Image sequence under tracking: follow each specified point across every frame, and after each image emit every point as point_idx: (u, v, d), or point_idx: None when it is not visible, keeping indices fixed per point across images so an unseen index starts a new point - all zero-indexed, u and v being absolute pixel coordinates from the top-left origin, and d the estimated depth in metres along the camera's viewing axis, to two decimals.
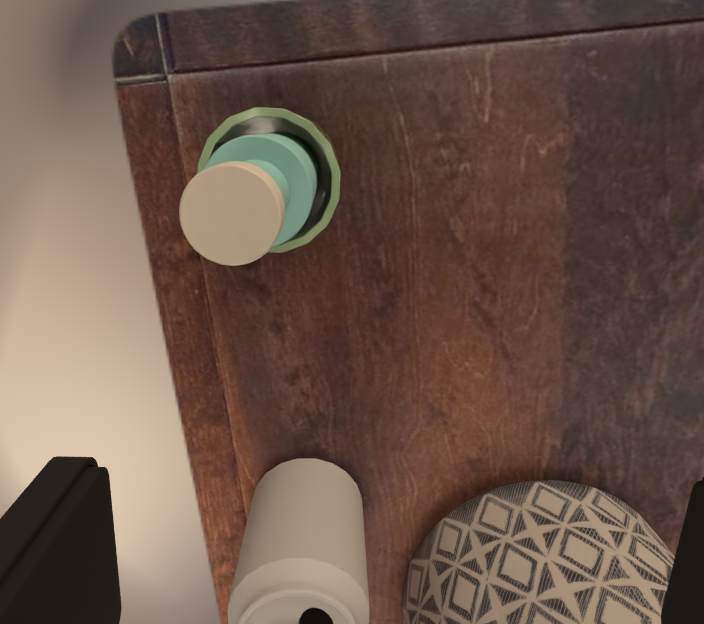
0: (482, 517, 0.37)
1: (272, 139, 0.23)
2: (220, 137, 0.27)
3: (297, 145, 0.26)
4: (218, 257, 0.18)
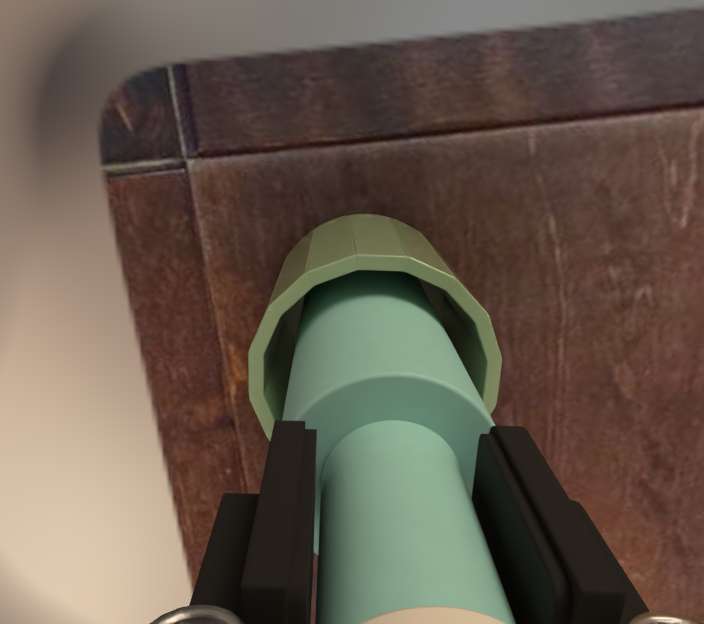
0: None
1: (431, 379, 0.11)
2: (290, 305, 0.15)
3: (435, 326, 0.14)
4: None
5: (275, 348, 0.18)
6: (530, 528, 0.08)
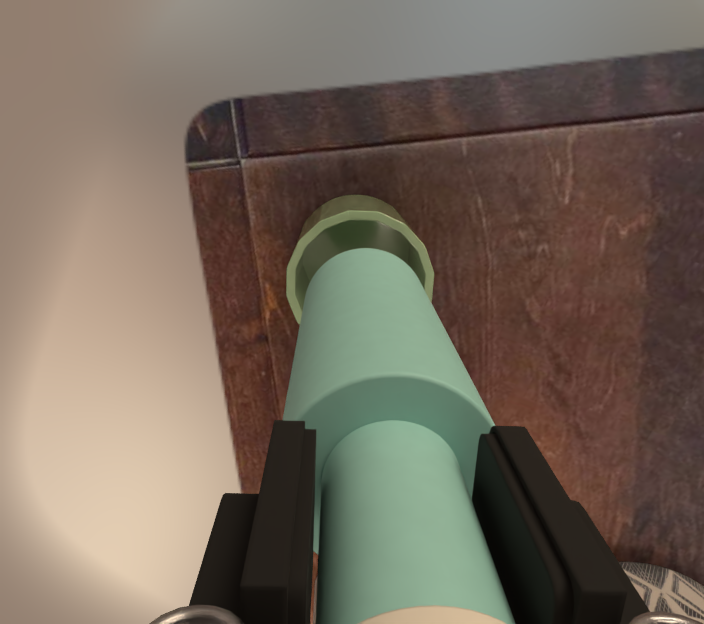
0: None
1: (431, 379, 0.11)
2: (311, 240, 0.26)
3: (435, 326, 0.14)
4: None
5: (299, 276, 0.30)
6: (531, 528, 0.08)
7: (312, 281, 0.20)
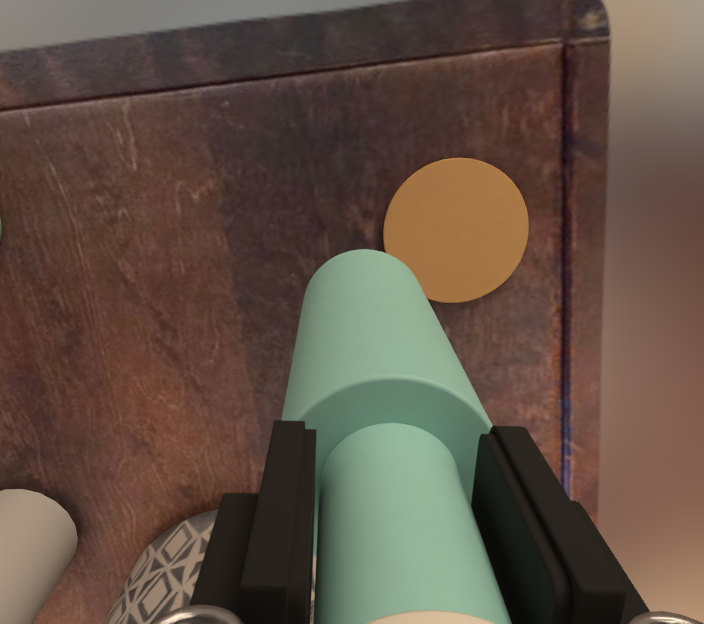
0: (167, 545, 0.38)
1: (429, 381, 0.11)
2: None
3: (434, 328, 0.14)
4: None
5: None
6: (530, 528, 0.08)
7: (311, 282, 0.20)
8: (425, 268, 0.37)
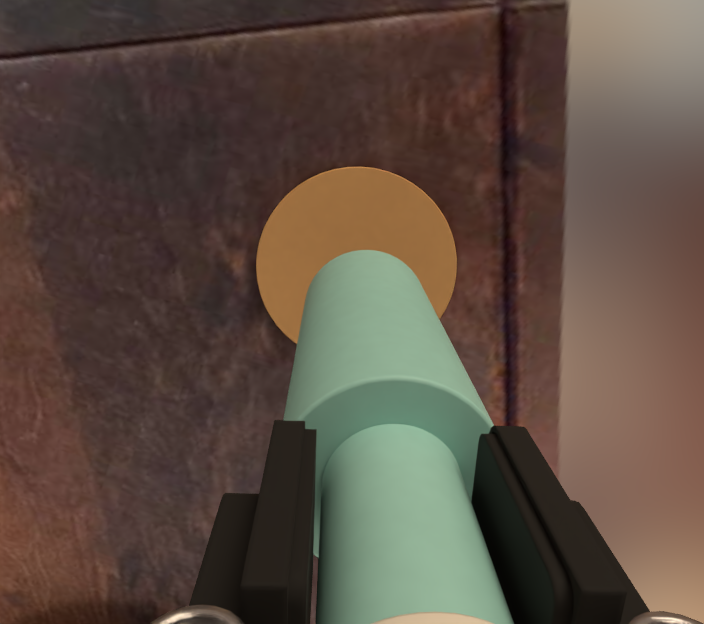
0: None
1: (432, 382, 0.11)
2: None
3: (436, 329, 0.14)
4: None
5: None
6: (530, 528, 0.08)
7: (312, 283, 0.20)
8: None
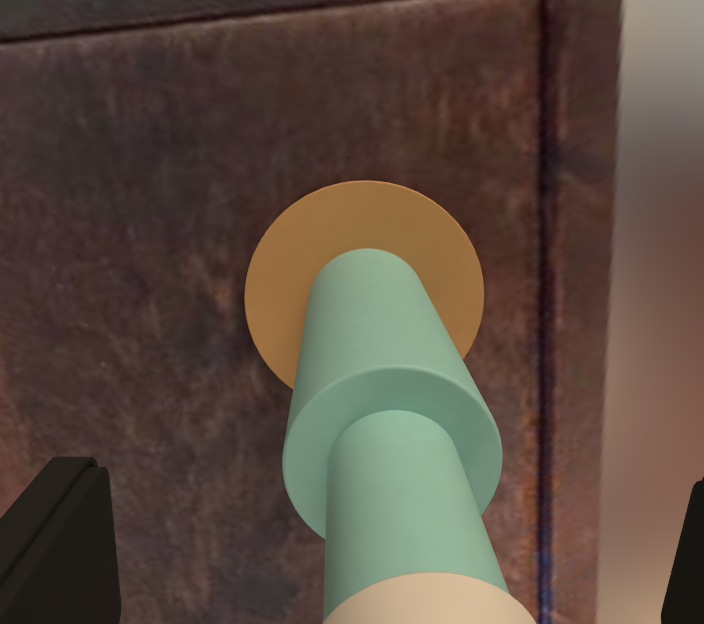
0: None
1: (431, 371, 0.11)
2: None
3: (435, 322, 0.15)
4: None
5: None
6: None
7: (316, 280, 0.21)
8: None
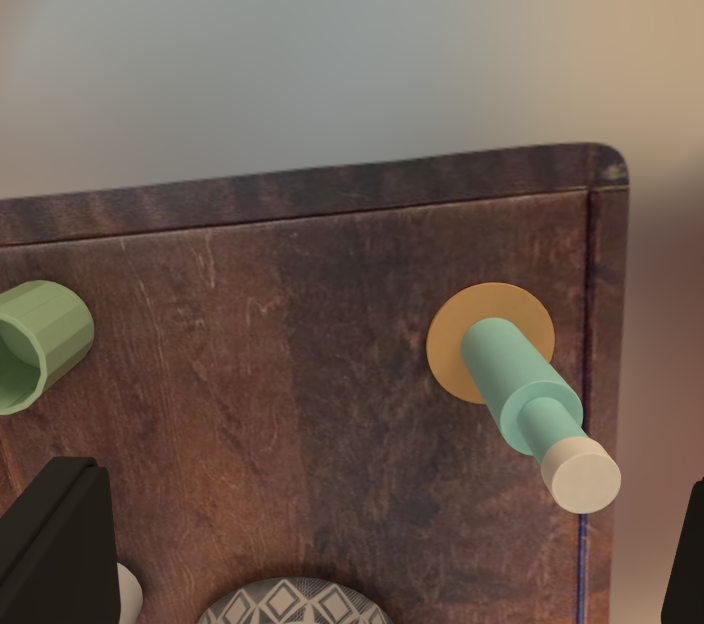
0: (227, 613, 0.43)
1: (558, 382, 0.31)
2: None
3: (546, 361, 0.34)
4: (573, 509, 0.26)
5: None
6: None
7: (468, 334, 0.40)
8: (462, 374, 0.42)
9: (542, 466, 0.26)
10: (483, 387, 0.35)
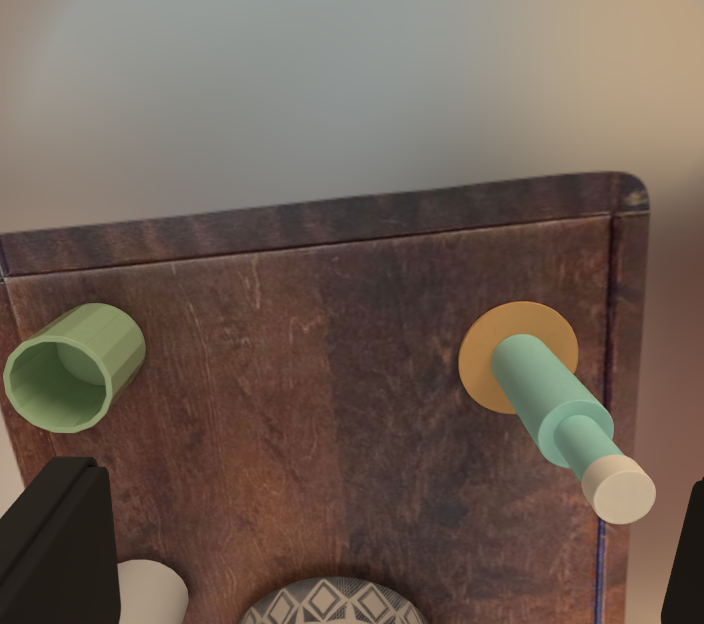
0: (271, 611, 0.46)
1: (592, 401, 0.33)
2: (18, 355, 0.36)
3: (577, 379, 0.37)
4: (612, 520, 0.29)
5: (36, 371, 0.40)
6: None
7: (498, 350, 0.43)
8: (491, 387, 0.45)
9: (583, 481, 0.29)
10: (518, 403, 0.37)
